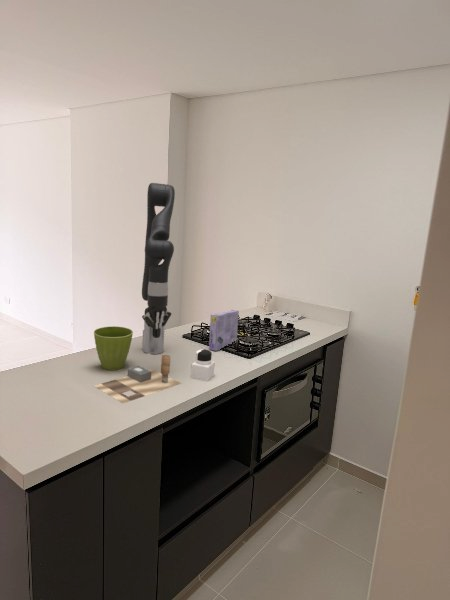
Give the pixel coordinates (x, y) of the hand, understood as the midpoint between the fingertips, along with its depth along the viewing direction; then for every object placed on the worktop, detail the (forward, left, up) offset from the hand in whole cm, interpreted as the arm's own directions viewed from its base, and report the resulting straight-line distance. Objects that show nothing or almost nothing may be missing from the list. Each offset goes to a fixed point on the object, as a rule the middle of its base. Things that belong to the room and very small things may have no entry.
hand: (156, 337), depth 160 cm
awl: (+9, -2, -15) cm, 17 cm away
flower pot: (-16, -8, -16) cm, 24 cm away
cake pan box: (-9, +51, -16) cm, 54 cm away
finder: (0, -7, -15) cm, 17 cm away
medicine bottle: (+14, +13, -16) cm, 25 cm away
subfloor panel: (+5, -11, -16) cm, 20 cm away
